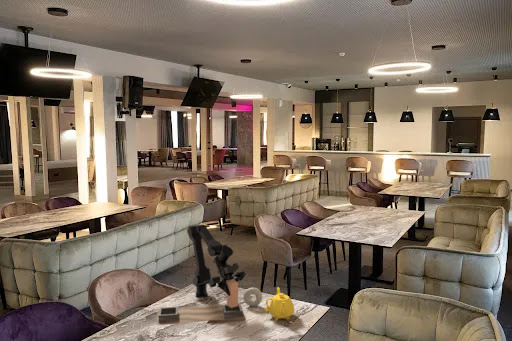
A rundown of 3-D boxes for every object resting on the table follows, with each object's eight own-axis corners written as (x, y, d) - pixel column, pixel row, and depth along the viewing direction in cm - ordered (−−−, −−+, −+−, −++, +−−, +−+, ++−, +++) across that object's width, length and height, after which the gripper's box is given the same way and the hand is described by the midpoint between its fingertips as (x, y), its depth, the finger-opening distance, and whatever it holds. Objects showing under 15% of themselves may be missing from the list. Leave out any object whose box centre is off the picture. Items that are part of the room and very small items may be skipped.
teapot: (262, 308, 214) (262, 286, 213) (290, 307, 215) (290, 285, 214) (267, 326, 194) (267, 302, 193) (298, 325, 195) (298, 301, 194)
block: (226, 305, 203) (226, 281, 202) (233, 303, 206) (233, 279, 205) (231, 307, 200) (231, 284, 199) (238, 306, 202) (238, 282, 201)
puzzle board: (158, 312, 209) (158, 303, 209) (240, 306, 216) (240, 297, 216) (156, 327, 192) (155, 318, 192) (245, 320, 199) (245, 311, 199)
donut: (262, 304, 218) (262, 286, 217) (262, 307, 214) (262, 289, 214) (243, 304, 218) (243, 286, 217) (243, 307, 215) (243, 288, 214)
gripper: (211, 261, 199) (222, 291, 191) (244, 255, 209) (256, 282, 201) (204, 272, 206) (214, 301, 198) (236, 266, 217) (247, 293, 208)
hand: (233, 294), depth 201 cm, fingers closed on block, 4 cm apart
